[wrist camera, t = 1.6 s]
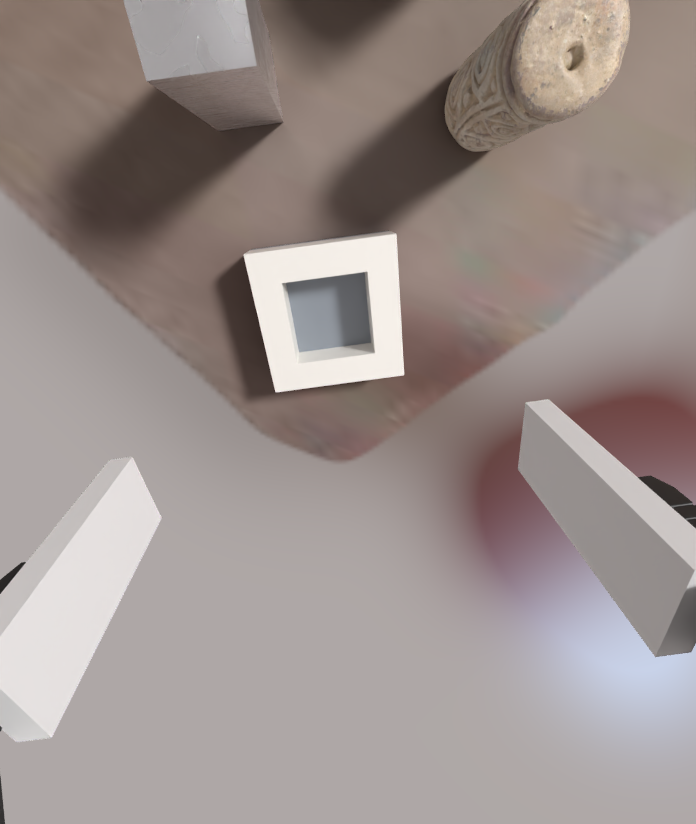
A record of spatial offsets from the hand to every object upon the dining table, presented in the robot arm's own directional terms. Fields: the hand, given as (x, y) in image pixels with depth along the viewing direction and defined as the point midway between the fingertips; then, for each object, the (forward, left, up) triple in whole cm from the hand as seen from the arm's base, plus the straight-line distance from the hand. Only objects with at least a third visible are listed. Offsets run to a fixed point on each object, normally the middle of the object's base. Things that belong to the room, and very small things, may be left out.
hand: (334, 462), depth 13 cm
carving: (-13, +14, -26) cm, 33 cm away
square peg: (-16, -4, -26) cm, 31 cm away
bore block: (+1, 0, -26) cm, 26 cm away
